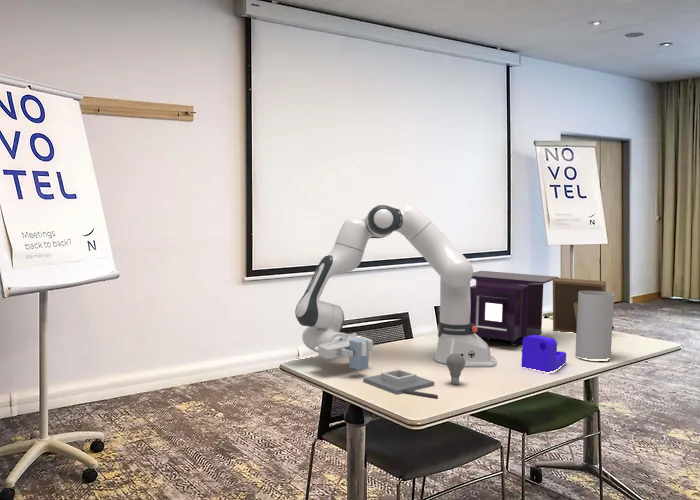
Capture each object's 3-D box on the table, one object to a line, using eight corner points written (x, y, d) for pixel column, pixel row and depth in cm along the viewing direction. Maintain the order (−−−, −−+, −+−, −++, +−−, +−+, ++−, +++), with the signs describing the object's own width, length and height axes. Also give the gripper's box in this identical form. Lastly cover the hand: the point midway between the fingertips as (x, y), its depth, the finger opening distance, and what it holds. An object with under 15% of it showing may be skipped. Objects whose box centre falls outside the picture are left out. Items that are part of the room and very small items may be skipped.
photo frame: (555, 329, 289) (557, 276, 287) (605, 335, 278) (607, 280, 276) (547, 335, 276) (550, 279, 274) (599, 341, 265) (602, 283, 263)
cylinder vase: (617, 360, 233) (621, 294, 231) (596, 364, 227) (599, 296, 225) (589, 352, 244) (592, 290, 242) (568, 356, 238) (571, 292, 236)
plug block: (359, 364, 209) (359, 338, 208) (369, 367, 205) (369, 341, 204) (349, 366, 206) (349, 340, 205) (359, 370, 202) (359, 343, 201)
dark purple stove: (479, 328, 288) (481, 270, 286) (555, 338, 269) (558, 276, 267) (449, 342, 258) (451, 277, 256) (532, 354, 240) (535, 285, 238)
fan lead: (402, 393, 189) (402, 389, 188) (404, 392, 189) (404, 388, 189) (437, 398, 184) (437, 395, 184) (438, 397, 185) (438, 394, 184)
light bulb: (443, 381, 202) (444, 351, 201) (461, 381, 202) (462, 350, 202) (448, 386, 196) (449, 355, 195) (466, 386, 196) (467, 355, 196)
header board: (399, 373, 209) (400, 364, 209) (434, 385, 197) (434, 375, 197) (363, 381, 200) (363, 372, 199) (397, 394, 187) (397, 384, 187)
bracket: (548, 374, 212) (549, 341, 211) (521, 367, 221) (522, 335, 220) (576, 366, 224) (578, 334, 223) (550, 360, 232) (551, 329, 231)
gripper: (310, 340, 208) (335, 347, 198) (357, 332, 221) (383, 339, 210) (310, 358, 209) (335, 367, 198) (357, 349, 222) (383, 357, 211)
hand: (360, 352), depth 204 cm, fingers closed on plug block, 4 cm apart
